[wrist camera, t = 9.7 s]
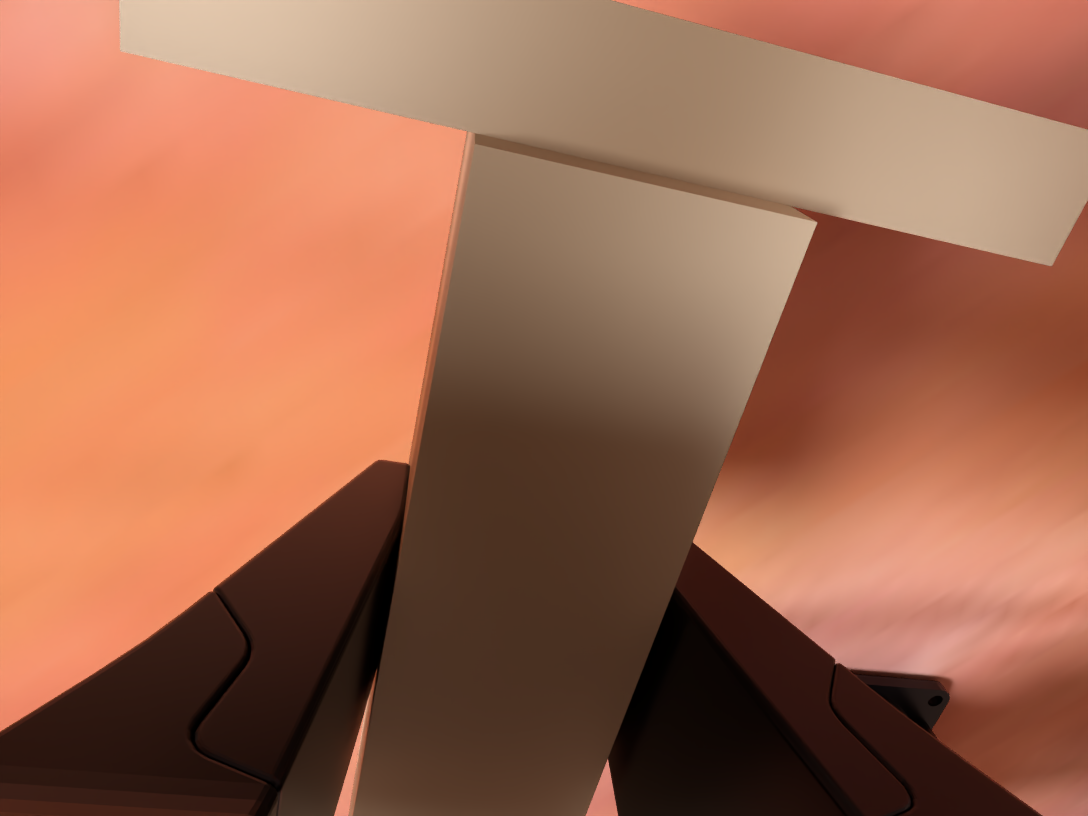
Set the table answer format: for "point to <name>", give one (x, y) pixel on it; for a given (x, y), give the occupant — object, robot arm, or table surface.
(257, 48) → the pusher
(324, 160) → the table surface
